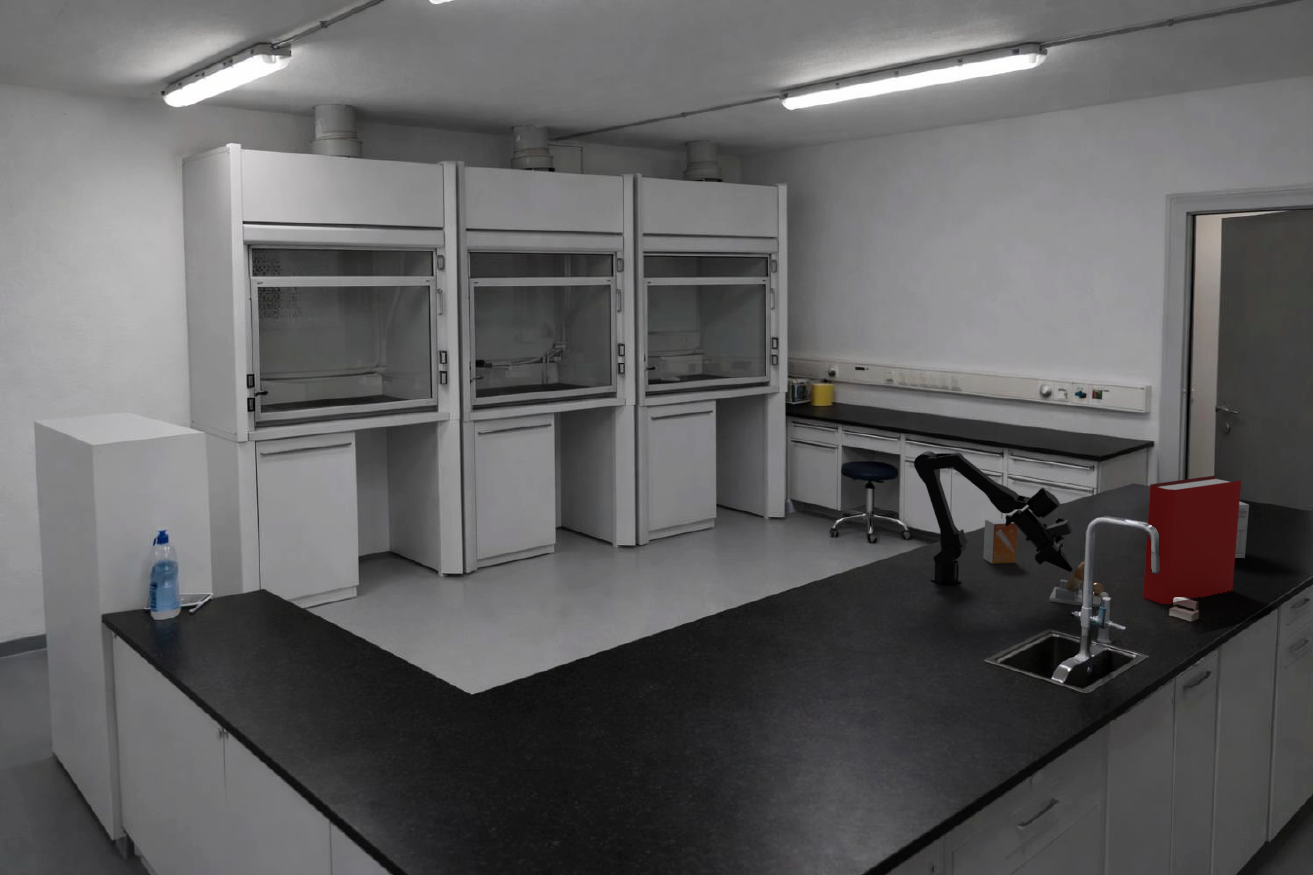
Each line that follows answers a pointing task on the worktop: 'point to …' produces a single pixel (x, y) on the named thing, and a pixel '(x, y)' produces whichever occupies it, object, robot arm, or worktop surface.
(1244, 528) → the supplement box
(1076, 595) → the nutcracker base
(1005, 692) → the worktop surface
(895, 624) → the worktop surface
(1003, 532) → the small box
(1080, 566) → the lever
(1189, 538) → the book
